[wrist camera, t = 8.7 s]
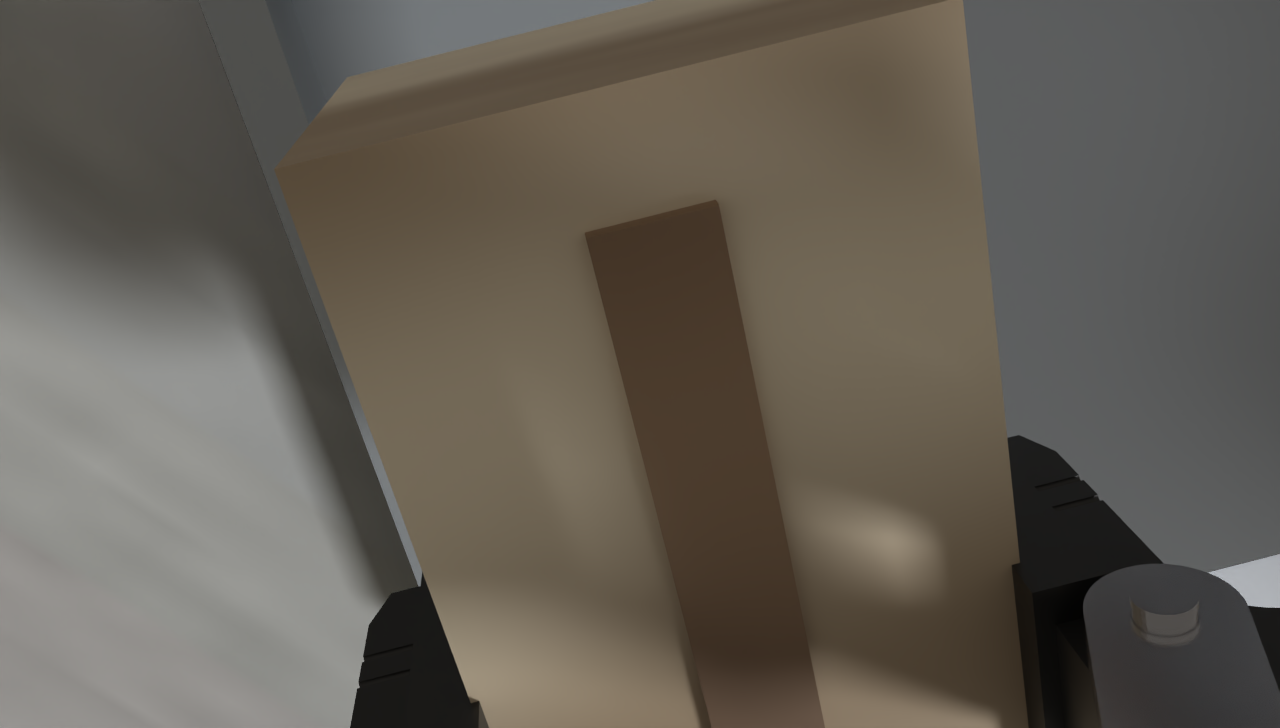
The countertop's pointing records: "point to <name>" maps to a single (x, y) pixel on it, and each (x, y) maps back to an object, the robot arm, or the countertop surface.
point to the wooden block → (685, 362)
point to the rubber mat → (1140, 254)
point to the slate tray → (317, 66)
